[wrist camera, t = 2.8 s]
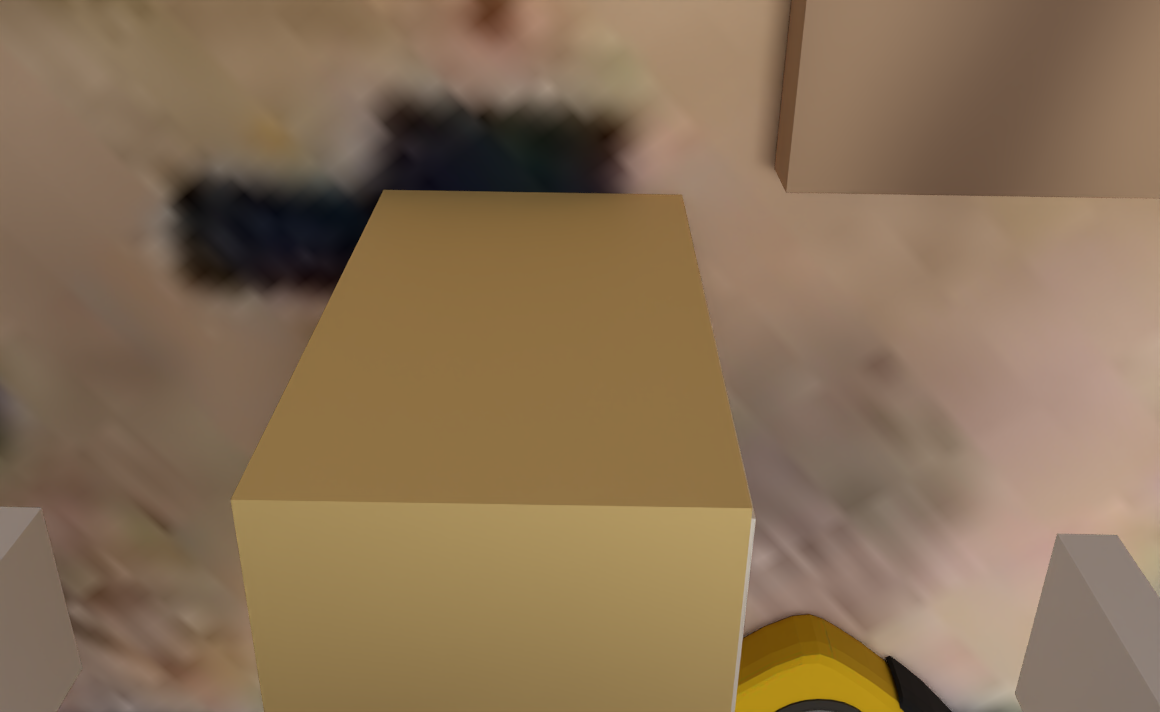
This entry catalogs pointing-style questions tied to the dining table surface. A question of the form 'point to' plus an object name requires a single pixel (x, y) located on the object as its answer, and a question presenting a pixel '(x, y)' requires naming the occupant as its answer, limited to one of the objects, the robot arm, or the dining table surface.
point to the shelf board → (972, 98)
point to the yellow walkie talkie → (823, 673)
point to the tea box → (503, 471)
